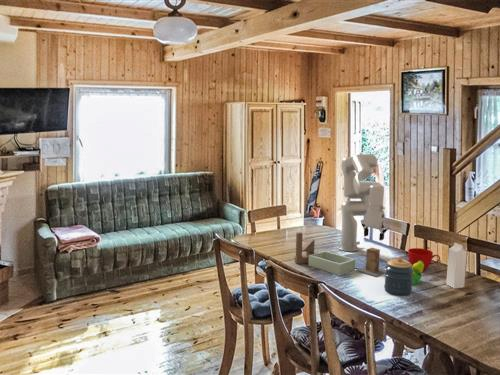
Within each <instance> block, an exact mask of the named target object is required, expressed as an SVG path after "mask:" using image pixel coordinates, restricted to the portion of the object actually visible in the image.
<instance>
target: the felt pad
mask: <svg viewBox="0 0 500 375" xmlns="http://www.w3.org/2000/svg"><path fill="white" fill-rule="evenodd" d="M355 272H358V273H361V274H365V275H368V276H372V277H375V278H377V277H380V276H382V275H385V272H386V269H384V268H380V267H379V271H376V272H370V271H367V270H366V265H365V266H363V267H361V268H357V269H355Z"/></svg>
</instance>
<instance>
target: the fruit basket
mask: <svg viewBox="0 0 500 375" xmlns="http://www.w3.org/2000/svg"><path fill="white" fill-rule="evenodd" d="M411 267H412V268H413V272H412V275H413V278H412V285H419V283H420V281H421V278H422V276H423V275H422V273H423V271H424V270H423V267H424V264H423V262H422V261H418V263H415V264H413V266H411Z"/></svg>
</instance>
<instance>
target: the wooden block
mask: <svg viewBox="0 0 500 375" xmlns="http://www.w3.org/2000/svg"><path fill="white" fill-rule="evenodd" d="M305 252H306V255H303V253H305ZM311 254H315V238H313V237H312V238H311V239H310V240H308V241H307V243H306V244H305V245H304V246H303V232H300V231H299V232H296V236H295V256H294V263H295V264H297V265H299V264H308V262H309V255H311Z"/></svg>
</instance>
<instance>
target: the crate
mask: <svg viewBox="0 0 500 375" xmlns="http://www.w3.org/2000/svg"><path fill="white" fill-rule="evenodd" d="M307 264H308V266H309V267H313V268H315V269H316V268H317V269H318V270H322V271H324V272H325V271H326V272H328V273H331V274H334V275H338V276H340V275H341V276H342V275H344V274H347V273H349V272H352V271H356V259H355V258H352V257H349V256H345V255H342V254H341V255H340V254H336V253H333V252H330V251H327V250H322V251H319V252H314V254H311V255H309V262H308V263H307Z"/></svg>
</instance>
